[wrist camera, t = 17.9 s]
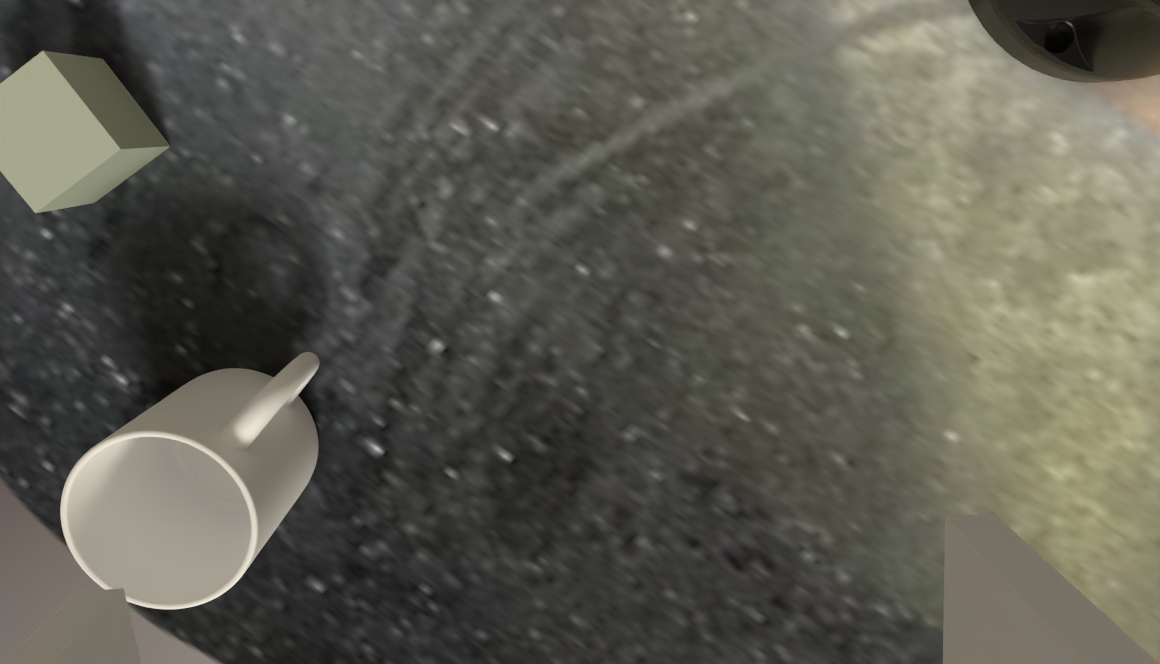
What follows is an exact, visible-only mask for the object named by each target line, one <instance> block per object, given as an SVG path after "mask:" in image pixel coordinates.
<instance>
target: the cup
mask: <svg viewBox="0 0 1160 664" xmlns="http://www.w3.org/2000/svg"><path fill="white" fill-rule="evenodd" d="M318 367H319V359H318V357H317V356H316V355H315V354H313V353H311V352H304V353H301V354H300V355H299V356H297V357H296V358H295V359H294V360H293V361H291V362H290V363H289V364H288V365H287V366H286V367H285V368H284V369H283V370H281V371H280V372H279V373H278V374H277V375H276V376H275V377H272V376H270V375H267V374H264V373H261V372H258V371H255V370H249V369H241V368H229V369H221V370H216V371H212V372H209V373H206V374H204V375H201V376H199V377H197V378H195V379H193V380H191V381H189V382H188V383H186V384H185V385H183V386H182V387H180V388H179V389H177V390H176V391H174V392H173V393H171V394H170V395H169V396H167V397H166V398H164V399H163V400H161V401H160V402H158V403H157V404H155V405H154V406H152V407H151V408H150V409H148V410H147V411H145V412H144V413H142V414H141V415H139V416H138V417H136V418H135V419H133V420H132V421H131V422H129V423H128V424H126V425H125V426H123V427H122V428H120V429H119V430H117V431H116V432H114V433H113V434H112V435H110V436H109V437H107V438H106V439H104V440H103V441H101V442H100V443H98V444H97V445H95V446H94V447H93V448H91V449H90V450H89V451H88V452H86V453H85V454H84V455H83V456H82V457H81V458H80V459H79V460H78V462H77V463H76V464H75V466H74V467H73V469H72V470H71V472H70V474H69V476H68V478H67V480H66V483H65V486H64V489H63V493H62V498H61V508H60V512H61V524H62V529H63V533H64V537H65V539H66V542H67V545H68V547H69V549H70V551H71V553H72V555H73V556H74V558H75V560H76V561H77V562H78V564H79V565H80V566H81V568H82V569H83V570H84V571H85V572H86V573H87V575H88V576H89V577H91V578H92V579H93V580H94V581H95V582H96V583H97V584H99V585H100V586H101V587H102V588H104V589H105V590H108V589H119V588H124V592H125V597H126V601H128V602H131V603H134V604H137V605H140V606H144V607H150V608H156V609H181V608H188V607H193V606H197V605H200V604H203V603H206V602H208V601H211V600H213V599H215V598H217V597H218V596H220V595H222V594H223V593H225V592H226V591H227V590H229V589H230V588H231V587H232V586H233V585H234V584H235V583H236V582H237V581H238V580H239V579H240V578H241V577H242V575H243V574H244V573H245V571H246V570H247V569H248V567H249V566H250V564H251V563H252V562H253V560H254V559H255V557H256V556H257V555H258V553H259V552H260V550H261V549H262V548H263V546H264V545H265V543H266V542H267V541H268V539H269V538H270V536H271V535H272V534H273V532H274V531H275V529H276V528H277V527H278V525H279V524H280V522H281V521H282V520H283V518H284V517H285V515H286V514H287V513H288V511H289V510H290V508H291V507H292V506H293V504H294V503H295V501H296V500H297V499H298V497H299V496H300V494H301V493H302V491H303V490H304V488H305V487H306V485H307V484H308V482H309V480H310V478H311V476H312V474H313V471H314V469H315V466H316V462H317V457H318V435H317V430H316V426H315V423H314V421H313V418H312V416H311V414H310V412H309V410H308V408H307V407H306V405H305V404H304V402H303V401H302V400H301V398H300V397H299V396H298V394H299V393H300V392H301V391H302V389H303V388H304V387H305V386H306V384H307V383H308V382H309V380H310V379H311V378H312V377H313V375H314V374H315V372H316V371H317V369H318Z"/></svg>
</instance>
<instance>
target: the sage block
mask: <svg viewBox="0 0 1160 664" xmlns="http://www.w3.org/2000/svg"><path fill="white" fill-rule="evenodd" d="M169 147H170V145H169V144H168V142H167V141H166V140H165V138H164V137H163V136H162V134H161V133H160V132H159V131H158V129H157V128H156V127H155V125H154V124H153V123H152V122H151V120H150V119H149V118H148V116H147V115H146V114H145V113H144V111H143V110H142V109H141V107H140V106H139V105H138V104H137V102H136V101H135V100H134V98H133V97H132V96H131V94H130V93H129V92H128V91H127V89H126V88H125V87H124V85H123V84H122V83H121V82H120V80H119V79H118V78H117V76H116V75H115V74H114V73H113V71H112V70H111V69H110V67H109V66H108V65H107V64H106V62H105V61H104V60H103V59H100V58H93V57H86V56H78V55H71V54H64V53H56V52H49V51H42V52H40V53H39V54H38V55H37V56H35V57H34V58H33V59H31V60H30V61H29V62H28V63H26V64H25V65H24V66H22V67H21V68H20V69H19V70H17V71H16V72H15V73H13V74H12V75H11V76H10V77H8V78H7V79H6V80H4V81H3V82H2V83H1V84H0V171H1V172H2V173H3V175H4V176H5V177H6V178H7V179H8V181H9V182H10V183H11V184H12V186H13V187H14V188H15V189H16V190H17V192H18V193H19V194H20V195H21V196H22V198H23V199H24V200H25V201H26V202H27V204H28V205H29V206H30V207H31V208H32V210H33V211H34V212H35V213H39V212H45V211H51V210H57V209H63V208H68V207H74V206H80V205H86V204H92V203H95V202H96V201H97V200H99V199H100V198H101V197H103V196H104V195H106V194H107V193H108V192H110V191H111V190H112V189H114V188H115V187H116V186H118V185H119V184H120V183H122V182H123V181H124V180H126V179H127V178H128V177H130V176H131V175H132V174H134V173H135V172H137V171H138V170H139V169H141V168H142V167H143V166H145V165H146V164H147V163H149V162H150V161H151V160H153V159H154V158H155V157H157V156H158V155H159V154H161V153H162V152H163V151H165V150H166V149H168V148H169Z"/></svg>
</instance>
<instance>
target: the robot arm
mask: <svg viewBox="0 0 1160 664" xmlns="http://www.w3.org/2000/svg"><path fill="white" fill-rule="evenodd" d="M969 2H970V5H971V7H972V9H973V11H974V12H975V14H976V16H977V18H978V19H979V21H980V22H981V24H982V26H983V27H984V28H985V30H986V31H987V32H988V33H989V35H990V36H991V37H992V38H993V39H994V40H995V41H996V43H997V44H998V45H1000V46H1001V47H1002V48H1003V49H1004V50H1005V51H1006V52H1007V53H1009V54H1010V55H1011V56H1012V57H1014V58H1015V59H1017V60H1018V61H1020V62H1021V63H1023V64H1025V65H1026V66H1028V67H1030V68H1032V69H1034V70H1036V71H1039V72H1041V73H1043V74H1046V75H1049V76H1052V77H1056V78H1060V79H1064V80H1070V81H1077V82H1108V81H1120V80H1132V79H1139V78H1145V77H1149V76H1153V75H1157V74H1160V0H969ZM1 664H141V661H140V656H139V652H138V648H137V644H136V640H135V635H134V631H133V626H132V622H131V618H130V614H129V609H128V605H127V601H126V597H125V592H124V588H119V589H108V590H97V591H84V592H76V593H74V594H73V595H72V596H71V597H70V598H69V599H68V600H67V601H66V602H65V603H64V604H63V605H62V606H61V607H60V608H59V609H58V610H57V611H56V612H55V613H54V614H53V615H51V616H50V617H49V618H48V619H47V620H46V621H45V622H44V623H43V624H42V625H41V626H40V627H39V628H38V629H37V630H36V631H35V632H34V633H33V634H32V635H31V636H30V637H29V638H27V639H26V640H25V641H24V642H23V643H22V644H21V645H20V646H19V647H18V648H17V649H16V650H15V651H14V652H13V653H12V654H11V655H10V656H9V657H8V658H7V659H5V661H3V662H2V663H1ZM943 664H1159V663H1158V662H1156V661H1155V660H1154V659H1153V658H1152V657H1151V656H1150V655H1149V654H1148V653H1147V652H1145V651H1144V650H1143V649H1142V648H1141V647H1140V646H1139V645H1138V644H1137V643H1136V642H1134V641H1133V640H1132V639H1131V638H1130V637H1129V636H1128V635H1127V634H1126V633H1125V632H1123V631H1122V630H1121V629H1120V628H1119V627H1118V626H1117V625H1116V624H1115V623H1114V622H1113V621H1111V620H1110V619H1109V618H1108V617H1107V616H1106V615H1105V614H1104V613H1103V612H1102V611H1100V610H1099V609H1098V608H1097V607H1096V606H1095V605H1094V604H1093V603H1092V602H1091V601H1089V600H1088V599H1087V598H1086V597H1085V596H1084V595H1083V594H1082V593H1081V592H1080V591H1078V590H1077V589H1076V588H1075V587H1074V586H1073V585H1072V584H1071V583H1070V582H1069V581H1067V580H1066V579H1065V578H1064V577H1063V576H1062V575H1061V574H1060V573H1059V572H1058V571H1056V570H1055V569H1054V568H1053V567H1052V566H1051V565H1050V564H1049V563H1048V562H1047V561H1045V560H1044V559H1043V558H1042V557H1041V556H1040V555H1039V554H1038V553H1037V552H1036V551H1034V550H1033V549H1032V548H1031V547H1030V546H1029V545H1028V544H1027V543H1026V542H1025V541H1023V540H1022V539H1021V538H1020V537H1019V536H1018V535H1017V534H1016V533H1015V532H1014V531H1012V530H1011V529H1010V528H1009V527H1008V526H1007V525H1006V524H1005V523H1004V522H1003V521H1001V520H1000V519H999V518H998V517H997V516H996V515H995V514H994V513H991V514H979V515H967V516H956V517H945V571H944V633H943Z"/></svg>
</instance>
